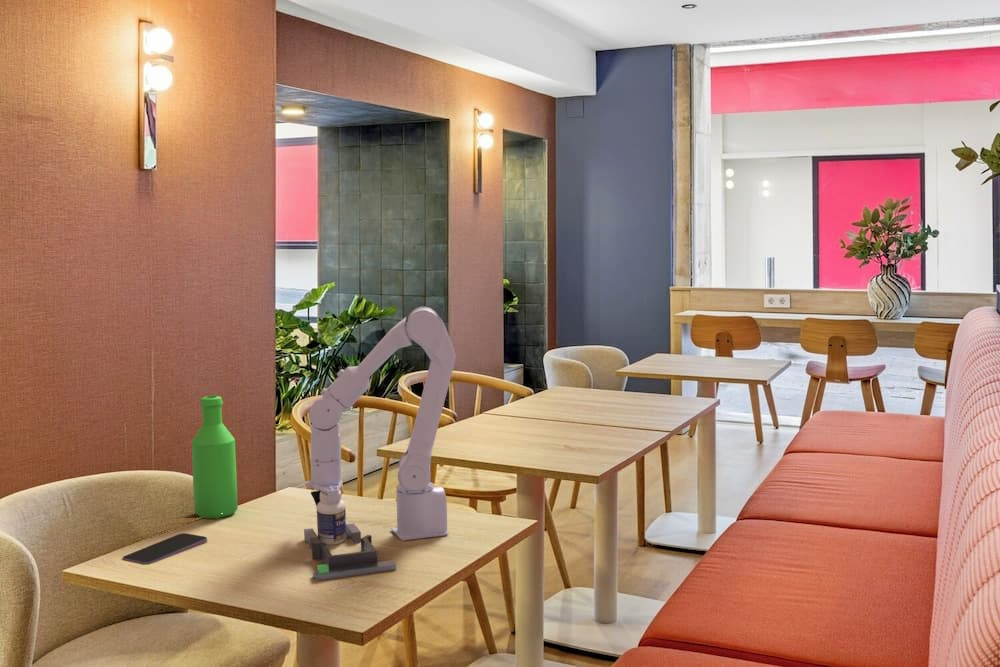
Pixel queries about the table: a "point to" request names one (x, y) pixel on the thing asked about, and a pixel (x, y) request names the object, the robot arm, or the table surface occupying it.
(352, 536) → the grey u-shaped piece
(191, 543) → the smartphone
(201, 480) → the bottle
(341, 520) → the pill bottle
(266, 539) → the table surface
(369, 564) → the grey bottle cradle
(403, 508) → the robot arm
